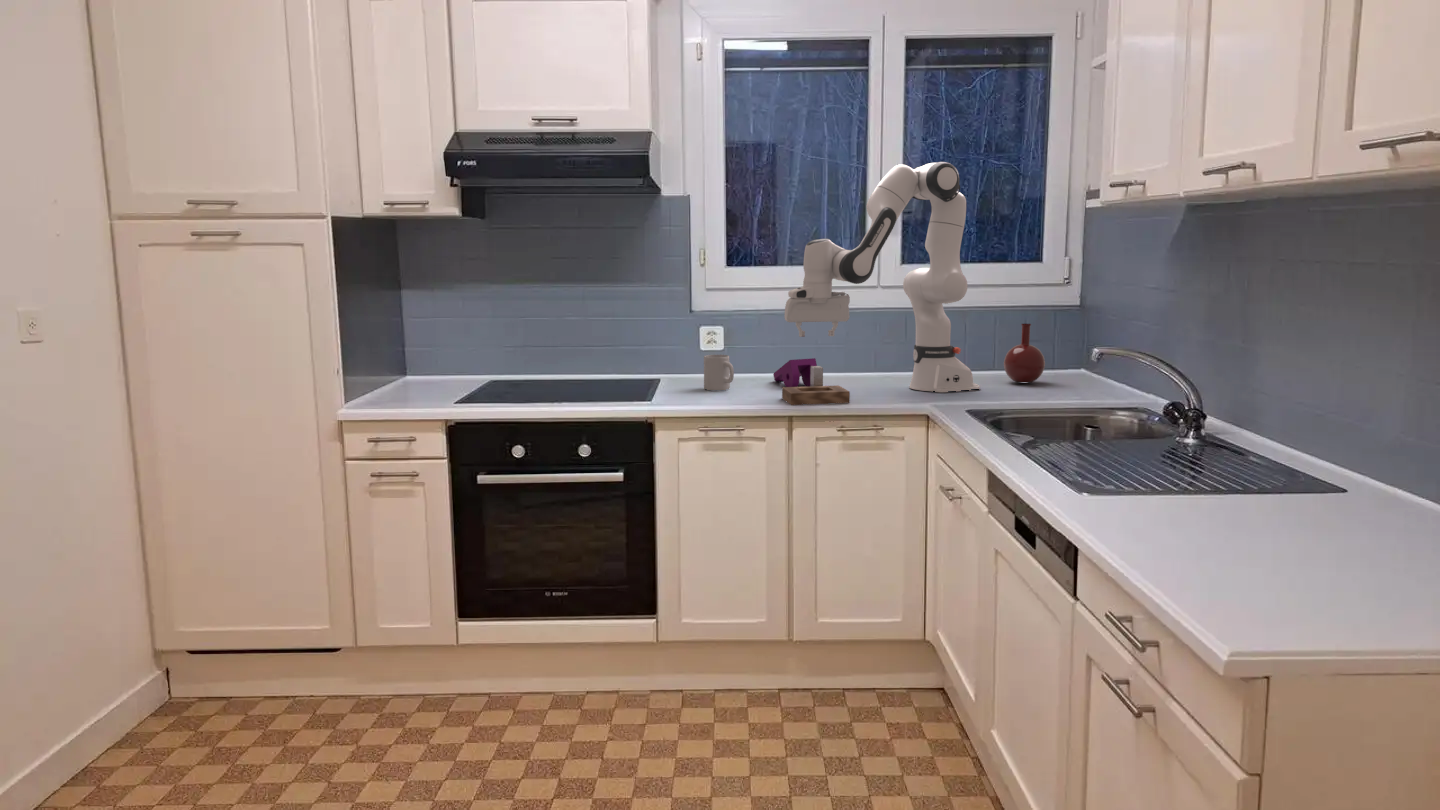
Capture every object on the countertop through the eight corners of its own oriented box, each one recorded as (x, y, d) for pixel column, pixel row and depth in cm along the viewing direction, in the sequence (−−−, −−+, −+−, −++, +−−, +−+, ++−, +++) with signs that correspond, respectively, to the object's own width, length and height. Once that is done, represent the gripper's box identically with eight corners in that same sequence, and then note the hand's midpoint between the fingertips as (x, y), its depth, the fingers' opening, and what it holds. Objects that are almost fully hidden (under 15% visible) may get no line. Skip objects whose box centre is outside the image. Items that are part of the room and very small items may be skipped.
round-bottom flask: (1043, 381, 335) (1046, 322, 332) (1044, 387, 323) (1047, 326, 319) (1003, 379, 339) (1005, 321, 335) (1003, 385, 326) (1005, 325, 323)
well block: (838, 396, 308) (838, 385, 307) (849, 402, 296) (849, 391, 295) (782, 398, 305) (782, 387, 304) (791, 405, 293) (791, 393, 292)
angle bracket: (819, 393, 313) (819, 365, 311) (822, 396, 309) (823, 367, 307) (794, 394, 311) (795, 366, 310) (797, 396, 308) (798, 368, 306)
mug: (698, 389, 324) (698, 356, 322) (717, 386, 330) (717, 353, 328) (723, 393, 316) (723, 359, 314) (742, 390, 321) (742, 356, 319)
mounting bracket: (773, 400, 337) (794, 384, 321) (769, 376, 339) (789, 359, 323) (798, 398, 341) (820, 382, 324) (793, 375, 343) (815, 358, 326)
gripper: (846, 291, 310) (846, 334, 312) (783, 291, 306) (783, 335, 309) (852, 292, 303) (851, 336, 306) (788, 292, 300) (787, 337, 303)
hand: (816, 336), depth 307 cm, fingers open, 8 cm apart
